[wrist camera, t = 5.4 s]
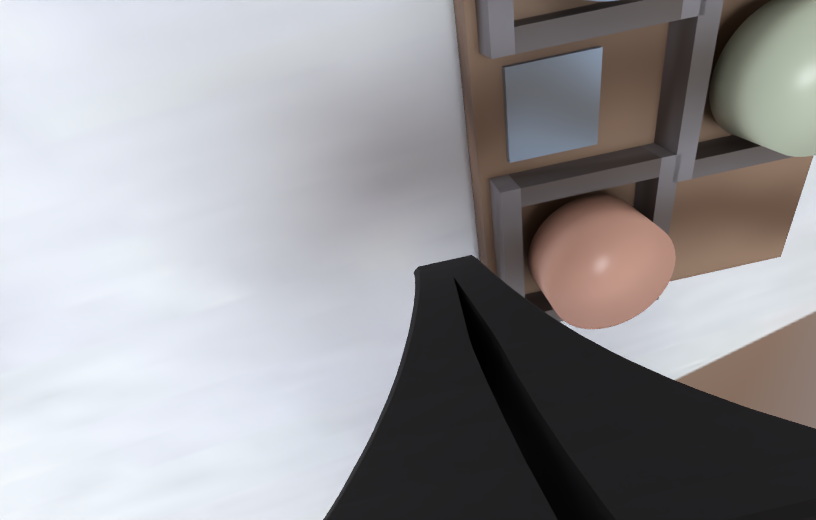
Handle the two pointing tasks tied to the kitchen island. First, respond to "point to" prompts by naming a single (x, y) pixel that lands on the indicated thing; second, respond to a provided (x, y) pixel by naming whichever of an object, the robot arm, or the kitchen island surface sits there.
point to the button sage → (770, 79)
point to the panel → (614, 129)
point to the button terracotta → (600, 261)
